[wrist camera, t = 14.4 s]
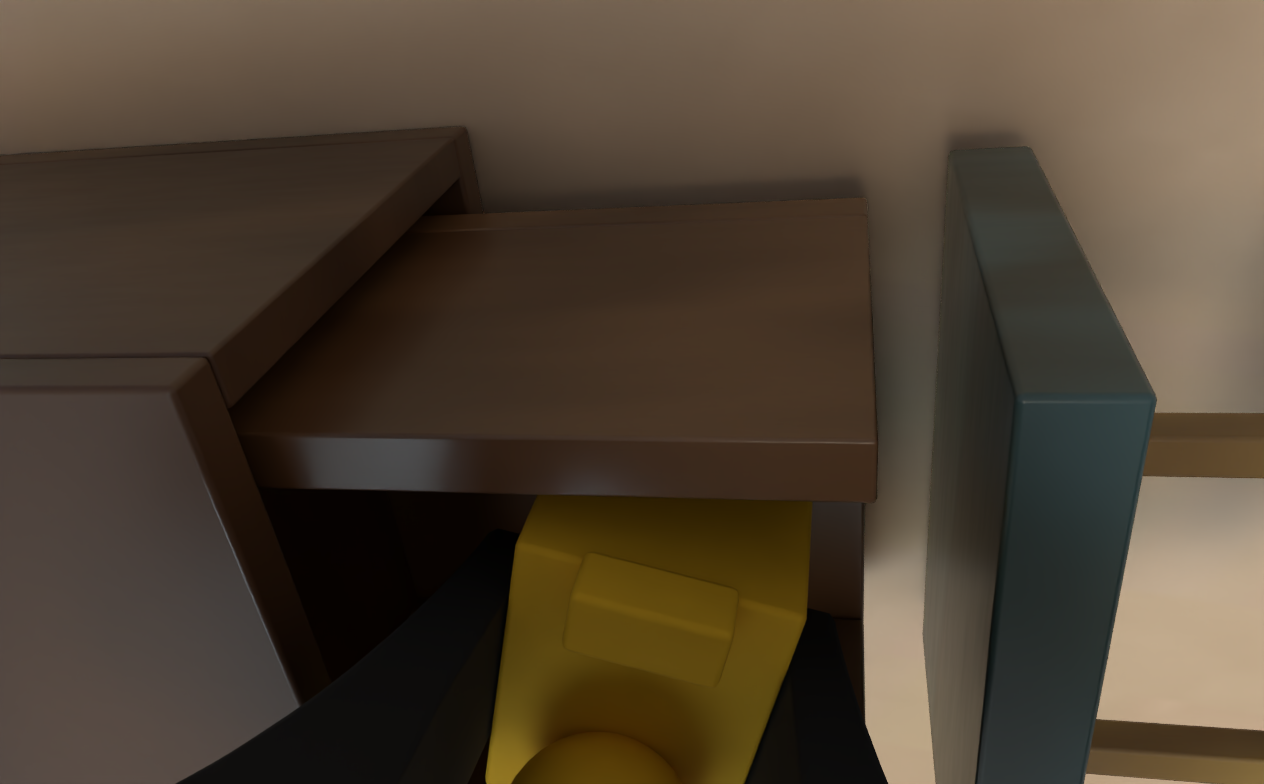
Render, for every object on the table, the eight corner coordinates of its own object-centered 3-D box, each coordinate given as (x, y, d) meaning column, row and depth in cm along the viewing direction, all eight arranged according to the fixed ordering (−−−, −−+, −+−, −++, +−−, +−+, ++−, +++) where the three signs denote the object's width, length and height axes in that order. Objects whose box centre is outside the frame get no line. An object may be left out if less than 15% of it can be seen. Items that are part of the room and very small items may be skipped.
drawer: (1392, 125, 14) (1825, 397, 8) (1240, 651, 19) (1426, 1060, 13) (288, 183, 17) (-11, 394, 11) (417, 608, 22) (260, 908, 16)
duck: (577, 394, 13) (446, 689, 9) (818, 453, 13) (804, 785, 9) (533, 670, 17) (420, 987, 12) (727, 722, 16) (683, 1064, 12)
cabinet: (467, 125, 17) (171, 388, 10) (564, 607, 23) (426, 1006, 15) (-148, 163, 20) (-741, 388, 12) (77, 583, 26) (-236, 907, 18)
